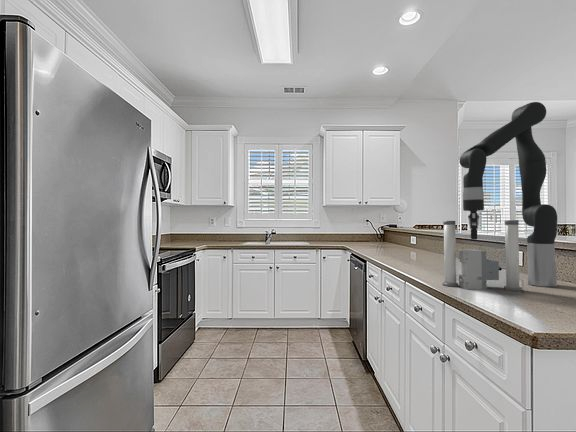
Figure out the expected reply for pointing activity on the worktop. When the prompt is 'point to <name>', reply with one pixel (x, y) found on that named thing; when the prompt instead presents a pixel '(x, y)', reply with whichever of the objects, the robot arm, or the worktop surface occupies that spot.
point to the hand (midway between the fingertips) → (474, 238)
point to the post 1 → (450, 254)
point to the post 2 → (512, 255)
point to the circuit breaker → (477, 269)
